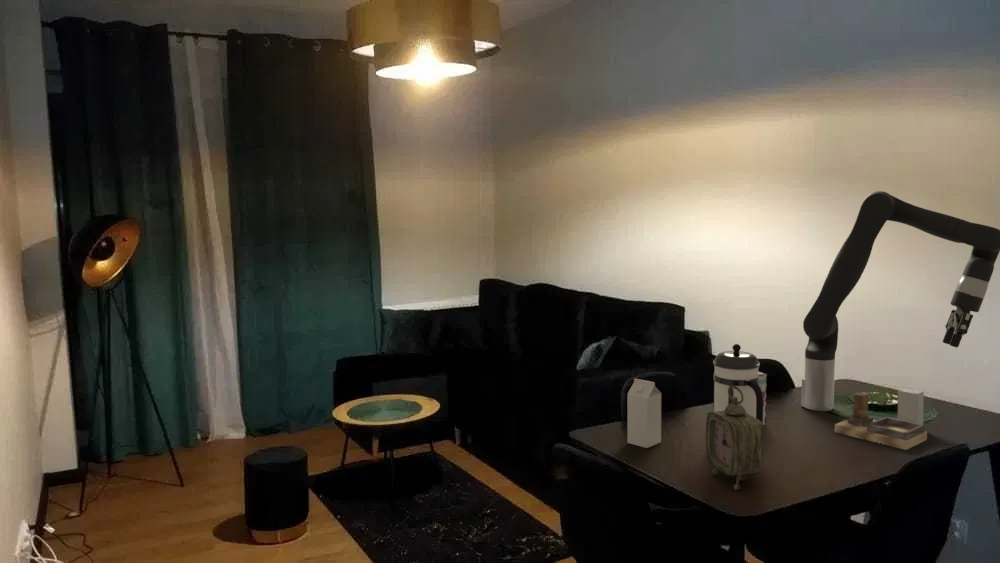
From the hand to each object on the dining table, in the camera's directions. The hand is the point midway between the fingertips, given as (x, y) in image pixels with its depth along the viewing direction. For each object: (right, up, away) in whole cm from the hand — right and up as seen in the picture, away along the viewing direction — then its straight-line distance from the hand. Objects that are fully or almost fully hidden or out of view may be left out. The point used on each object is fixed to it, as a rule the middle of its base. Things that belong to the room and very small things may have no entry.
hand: (949, 345), depth 225 cm
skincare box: (-9, -26, +5) cm, 28 cm away
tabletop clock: (-74, -32, -32) cm, 87 cm away
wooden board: (-21, -27, 0) cm, 34 cm away
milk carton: (-91, -29, -2) cm, 96 cm away
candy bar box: (-54, -26, +17) cm, 62 cm away
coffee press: (-65, -29, -6) cm, 71 cm away
